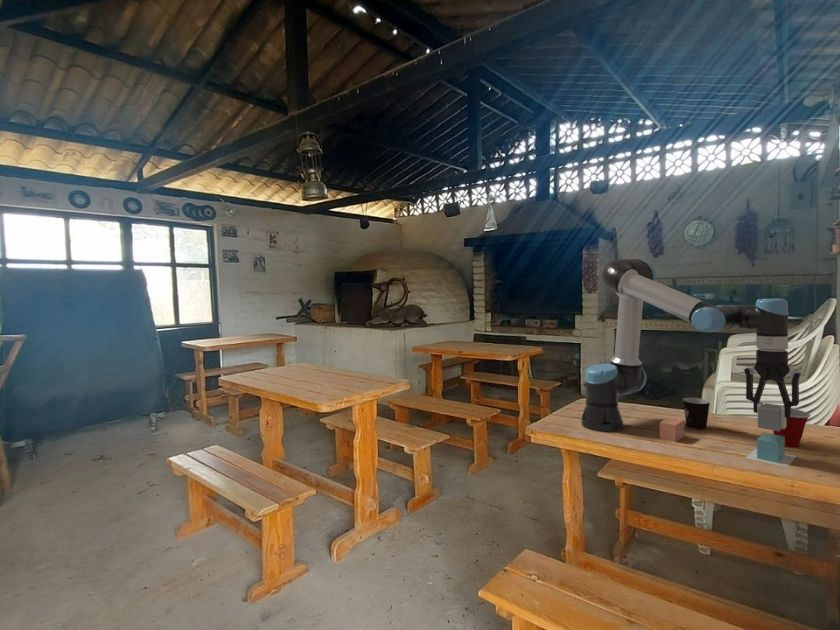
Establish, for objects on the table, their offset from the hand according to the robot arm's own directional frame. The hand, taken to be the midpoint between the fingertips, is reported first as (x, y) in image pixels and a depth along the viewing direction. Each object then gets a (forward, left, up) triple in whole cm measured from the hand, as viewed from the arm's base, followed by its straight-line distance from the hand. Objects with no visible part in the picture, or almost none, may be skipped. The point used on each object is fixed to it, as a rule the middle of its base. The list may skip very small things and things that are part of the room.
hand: (771, 425), depth 134 cm
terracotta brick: (-28, 0, -11) cm, 30 cm away
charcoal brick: (0, 0, 0) cm, 0 cm away
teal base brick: (0, 0, -10) cm, 10 cm away
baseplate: (0, 0, -10) cm, 10 cm away
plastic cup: (+1, +17, -11) cm, 20 cm away
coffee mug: (-27, +20, -11) cm, 35 cm away
